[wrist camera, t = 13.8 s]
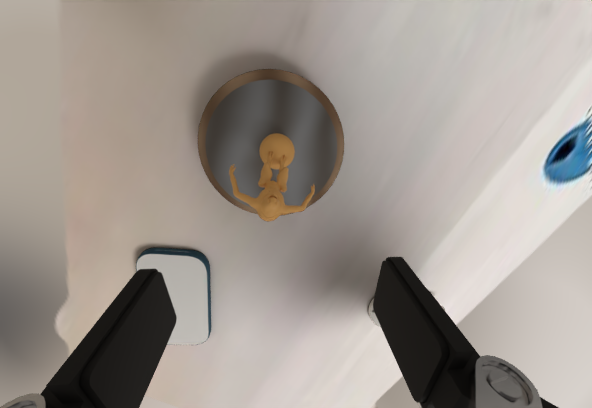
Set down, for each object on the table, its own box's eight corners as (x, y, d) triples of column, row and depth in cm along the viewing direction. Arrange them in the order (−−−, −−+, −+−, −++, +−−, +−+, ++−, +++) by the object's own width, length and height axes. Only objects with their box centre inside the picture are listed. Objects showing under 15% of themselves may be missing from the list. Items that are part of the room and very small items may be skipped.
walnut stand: (343, 72, 28) (353, 69, 24) (332, 202, 36) (338, 215, 32) (193, 71, 26) (180, 67, 23) (217, 206, 34) (210, 220, 31)
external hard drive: (212, 336, 48) (209, 345, 46) (155, 335, 47) (150, 344, 45) (211, 248, 38) (207, 256, 36) (138, 243, 37) (131, 251, 35)
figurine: (314, 141, 27) (339, 172, 16) (299, 185, 30) (314, 238, 19) (246, 121, 25) (224, 141, 15) (236, 170, 28) (212, 218, 17)
